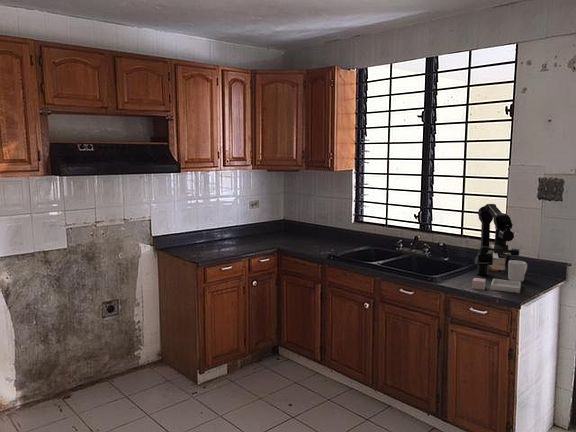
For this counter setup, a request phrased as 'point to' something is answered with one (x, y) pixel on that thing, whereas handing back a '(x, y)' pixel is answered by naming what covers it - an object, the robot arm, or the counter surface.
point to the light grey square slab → (506, 285)
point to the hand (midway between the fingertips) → (499, 266)
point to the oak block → (499, 263)
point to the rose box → (478, 283)
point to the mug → (517, 270)
